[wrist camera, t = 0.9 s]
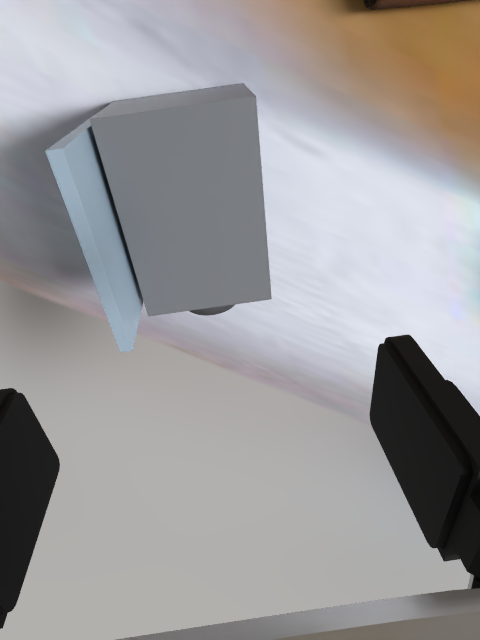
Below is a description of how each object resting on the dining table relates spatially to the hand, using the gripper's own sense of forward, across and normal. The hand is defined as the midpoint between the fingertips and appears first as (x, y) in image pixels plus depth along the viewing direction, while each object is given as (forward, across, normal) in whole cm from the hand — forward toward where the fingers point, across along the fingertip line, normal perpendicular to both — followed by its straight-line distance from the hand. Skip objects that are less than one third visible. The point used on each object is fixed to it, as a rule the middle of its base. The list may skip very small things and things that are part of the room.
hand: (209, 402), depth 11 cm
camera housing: (+24, 0, +1) cm, 24 cm away
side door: (+24, +6, +1) cm, 24 cm away
